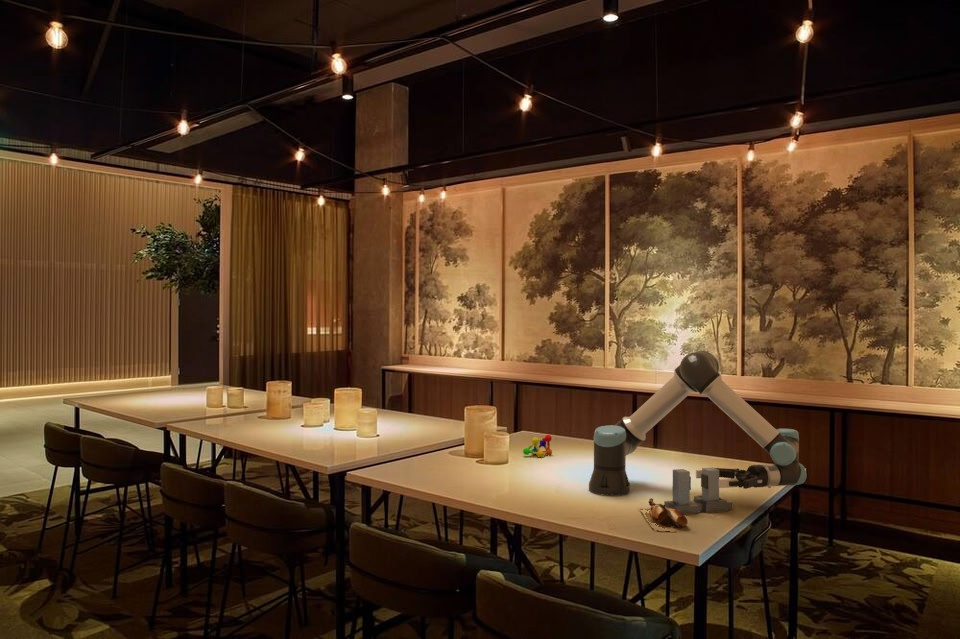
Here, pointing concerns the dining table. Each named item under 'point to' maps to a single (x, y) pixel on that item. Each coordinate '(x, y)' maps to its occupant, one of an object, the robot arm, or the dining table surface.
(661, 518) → the ballet pointe shoes
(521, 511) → the dining table surface
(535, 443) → the molecular model
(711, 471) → the gray rectangular block
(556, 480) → the dining table surface
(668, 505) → the grey blocky piece
